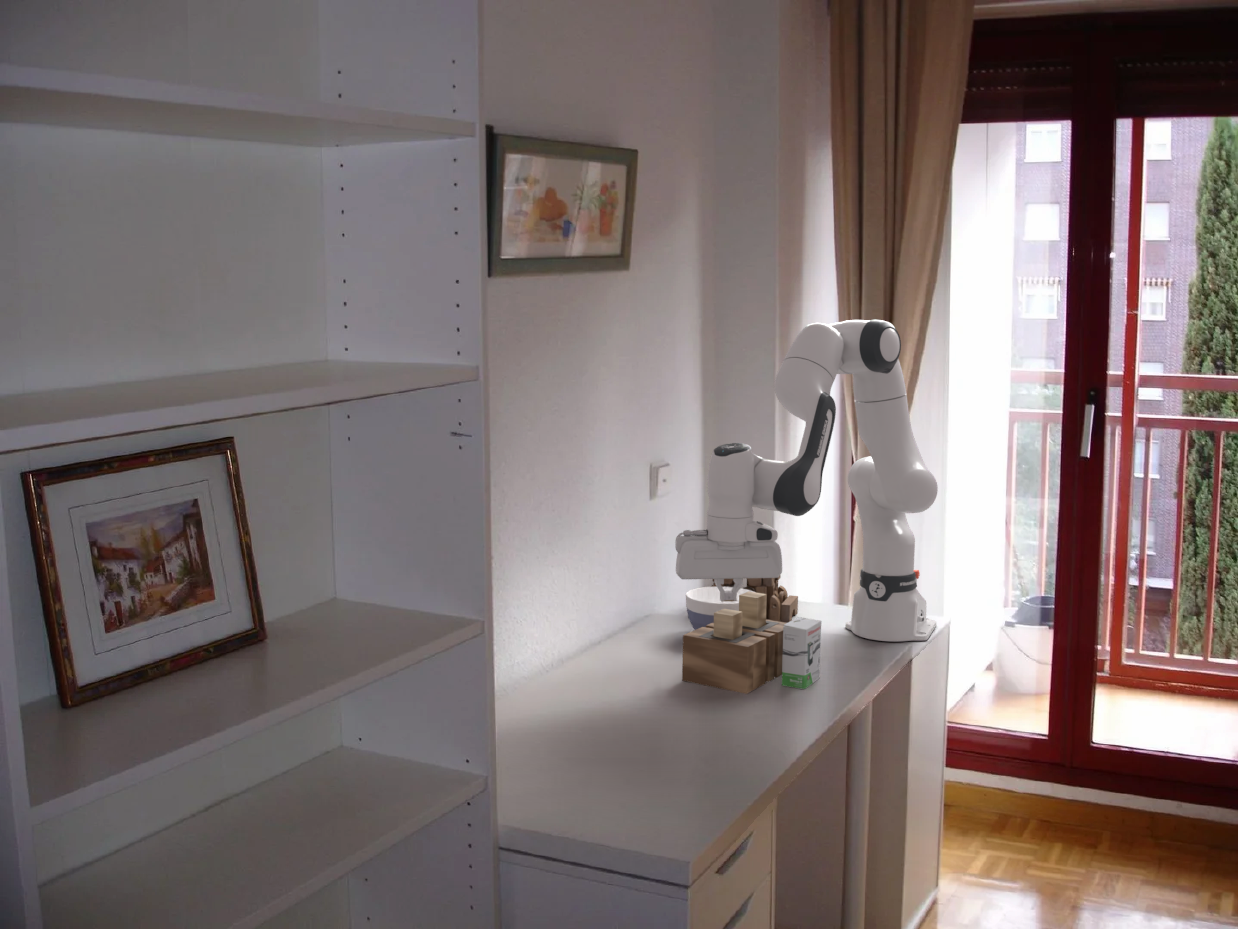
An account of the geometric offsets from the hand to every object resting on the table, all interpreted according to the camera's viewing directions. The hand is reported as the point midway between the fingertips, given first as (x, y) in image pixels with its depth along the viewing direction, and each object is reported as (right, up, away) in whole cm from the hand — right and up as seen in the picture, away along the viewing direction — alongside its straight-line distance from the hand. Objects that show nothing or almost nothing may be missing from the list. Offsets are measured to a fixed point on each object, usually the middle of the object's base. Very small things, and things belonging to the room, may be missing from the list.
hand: (728, 601), depth 234 cm
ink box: (+14, -16, +2) cm, 21 cm away
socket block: (+3, -15, +6) cm, 16 cm away
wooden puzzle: (+9, -9, +53) cm, 55 cm away
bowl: (+2, -12, +33) cm, 35 cm away
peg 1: (0, -11, +1) cm, 11 cm away
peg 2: (+6, -9, +9) cm, 14 cm away
